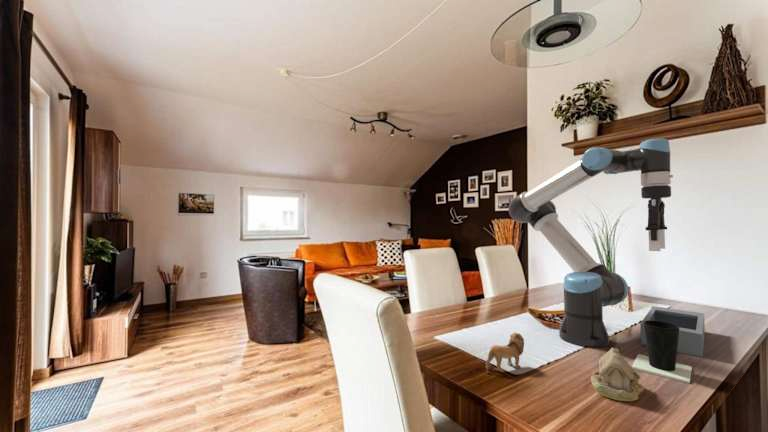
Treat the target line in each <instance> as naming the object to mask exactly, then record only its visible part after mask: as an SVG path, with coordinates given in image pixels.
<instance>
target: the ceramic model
mask: <svg viewBox="0 0 768 432" xmlns="http://www.w3.org/2000/svg"><path fill="white" fill-rule="evenodd" d="M598 368H599V369H597V370H595V371H593V372H592V374H591V375H590V381H591V385H592V387H593V389H594V390H595V392H596V393H597V394H598V395H600V396H602V397H605V398H608V399H613V400H615V401H621V402H622V401H623V402H634V401H637V400H639V395H640V394H641V393H642V392H644V386H643V385H642V384H640V382H639V380H641V374H640V372H637V371H638V370H636V369H633V368H632V365H631V364H630V363H628V361H627V360H626V359H625V358H624V357H623V355H622V354H621V353H620V352H619V349H618V347H611V348H610V349H609V350H608V351H607V352H605V353H604V354H603V355H602V356H601V357H600V358H599V359H598Z"/></svg>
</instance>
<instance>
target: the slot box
mask: <svg viewBox="0 0 768 432" xmlns="http://www.w3.org/2000/svg"><path fill="white" fill-rule="evenodd" d="M648 320H653V321H662V322H667V323H671V324H674V325H677V326H678V327H679V337H678V347H677V353H681V354H686V355H689V356H690V355H691V356H697V357H701V358H703V357H704V346H705V345H704V344H705V335H706V334H705V331H706V330H705V329H706V328H705V313H703V312H697V311H690V310H682V309H674V308H668V307H660V306H656V305H655V306H653V305H652V306H651V307H650V309H649V311H648V312H647V313H646V315H645V317H644V318H643V319H642V321H641V322H640V345H643V346H647V342H646V335H645V328H644V321H648Z"/></svg>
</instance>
